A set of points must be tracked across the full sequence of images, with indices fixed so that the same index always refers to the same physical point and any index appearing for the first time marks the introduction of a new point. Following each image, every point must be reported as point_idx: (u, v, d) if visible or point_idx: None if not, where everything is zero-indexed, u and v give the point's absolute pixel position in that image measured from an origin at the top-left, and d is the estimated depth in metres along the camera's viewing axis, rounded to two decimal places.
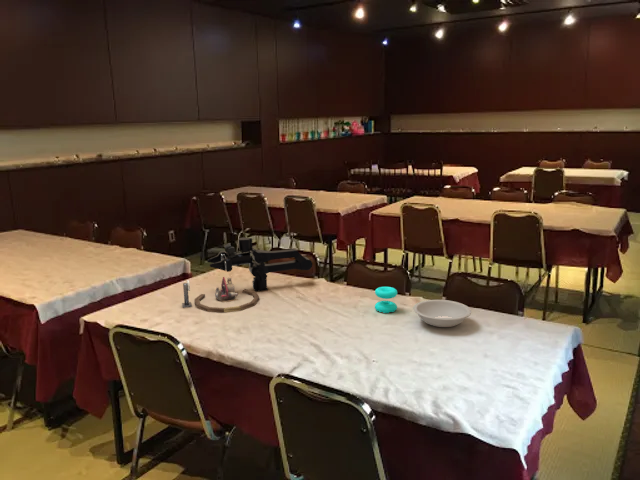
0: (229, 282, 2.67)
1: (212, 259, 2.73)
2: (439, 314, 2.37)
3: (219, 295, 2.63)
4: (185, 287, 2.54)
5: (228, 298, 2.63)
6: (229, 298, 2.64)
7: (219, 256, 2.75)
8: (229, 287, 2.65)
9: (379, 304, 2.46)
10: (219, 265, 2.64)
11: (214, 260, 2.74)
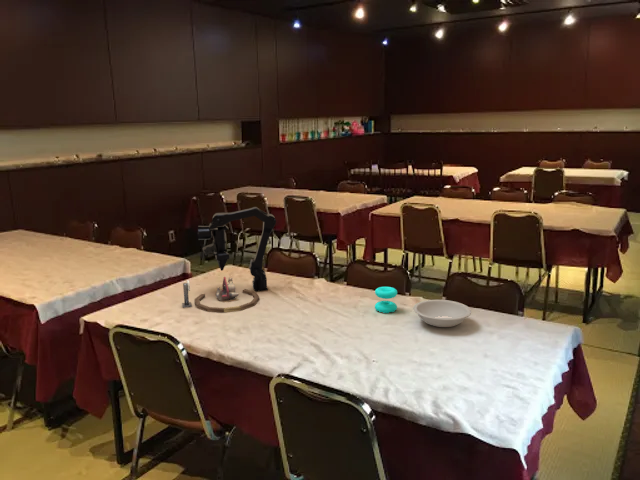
0: (230, 282, 2.67)
1: (219, 262, 2.76)
2: (439, 314, 2.37)
3: (220, 295, 2.63)
4: (185, 287, 2.54)
5: (229, 298, 2.63)
6: (230, 299, 2.64)
7: None
8: (230, 287, 2.64)
9: (379, 304, 2.46)
10: (222, 262, 2.69)
11: None
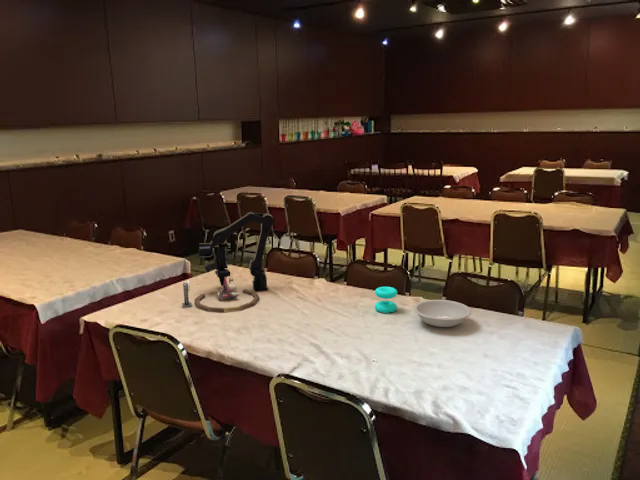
0: (231, 282, 2.67)
1: None
2: (439, 314, 2.37)
3: (220, 295, 2.63)
4: (185, 287, 2.54)
5: (229, 298, 2.63)
6: (231, 299, 2.64)
7: None
8: (230, 287, 2.64)
9: (379, 304, 2.46)
10: (222, 277, 2.74)
11: None
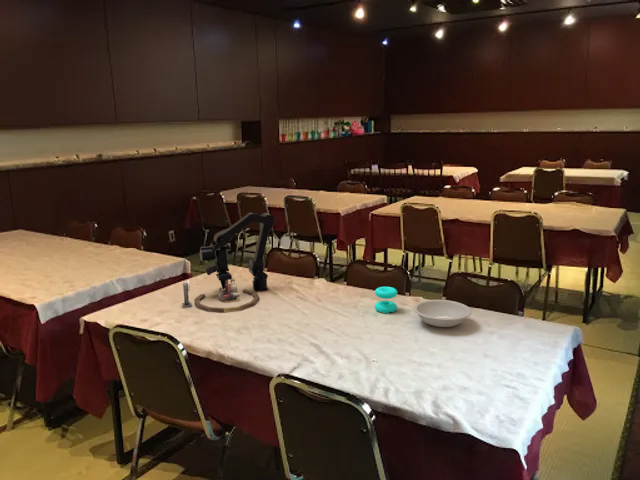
0: (232, 282, 2.67)
1: None
2: (439, 314, 2.37)
3: (221, 295, 2.62)
4: (185, 287, 2.54)
5: (230, 298, 2.63)
6: (232, 299, 2.64)
7: None
8: (232, 287, 2.64)
9: (379, 304, 2.46)
10: (224, 280, 2.70)
11: None
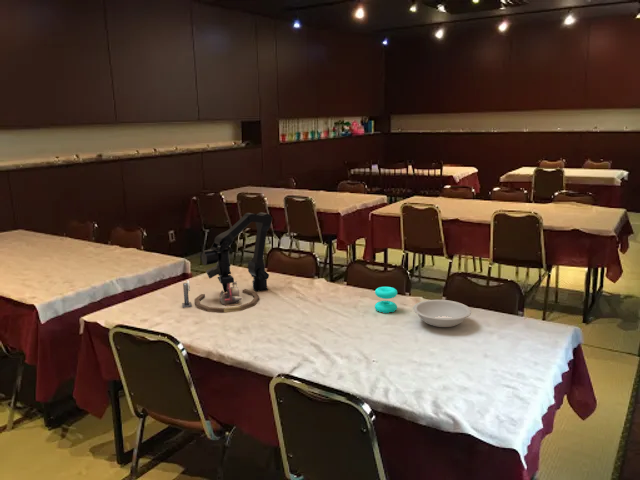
0: (234, 285, 2.62)
1: None
2: (439, 314, 2.37)
3: (223, 299, 2.57)
4: (185, 287, 2.54)
5: (232, 302, 2.58)
6: (233, 302, 2.59)
7: None
8: (233, 291, 2.59)
9: (379, 304, 2.46)
10: (225, 283, 2.65)
11: None
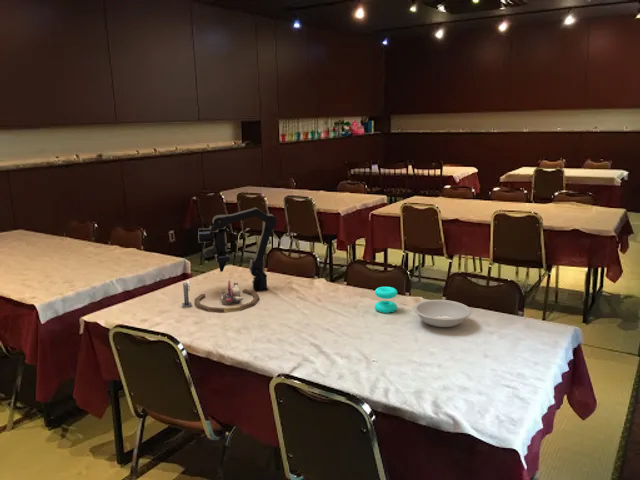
0: (235, 286, 2.62)
1: None
2: (439, 314, 2.37)
3: (224, 299, 2.57)
4: (185, 287, 2.54)
5: (233, 302, 2.58)
6: (234, 303, 2.58)
7: None
8: (234, 291, 2.58)
9: (379, 304, 2.46)
10: (222, 263, 2.70)
11: None
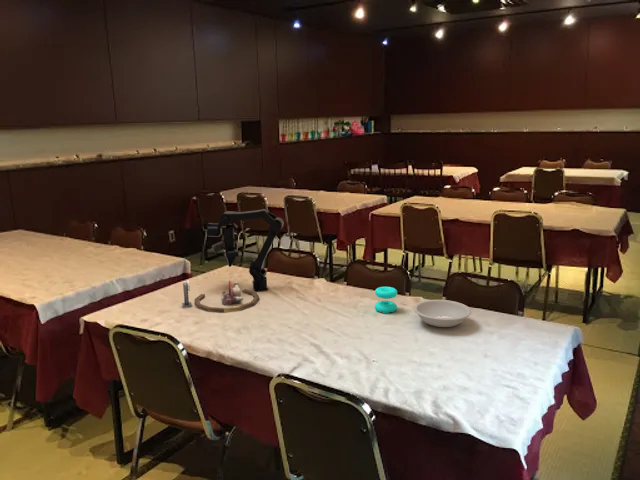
0: (236, 286, 2.61)
1: None
2: (439, 314, 2.37)
3: (224, 299, 2.57)
4: (185, 287, 2.54)
5: (233, 302, 2.57)
6: (235, 303, 2.58)
7: None
8: (235, 291, 2.58)
9: (379, 304, 2.46)
10: (230, 258, 2.76)
11: None
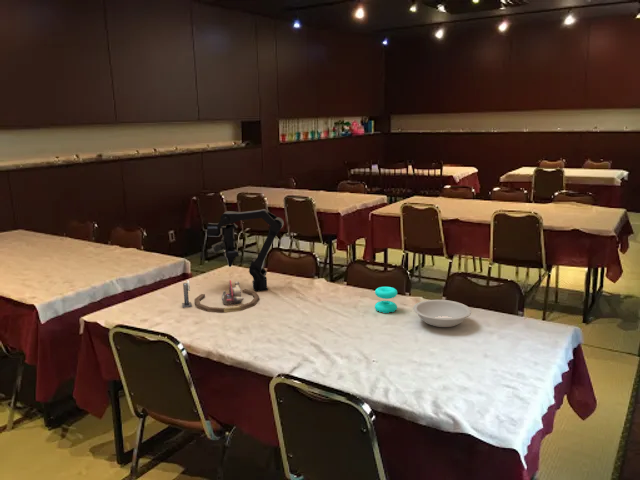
0: (236, 286, 2.61)
1: None
2: (439, 314, 2.37)
3: (225, 299, 2.57)
4: (185, 287, 2.54)
5: (234, 302, 2.57)
6: (235, 303, 2.58)
7: None
8: (235, 291, 2.58)
9: (379, 304, 2.46)
10: (230, 258, 2.76)
11: None
